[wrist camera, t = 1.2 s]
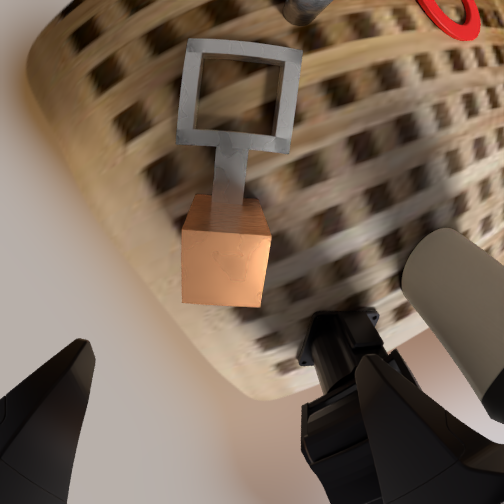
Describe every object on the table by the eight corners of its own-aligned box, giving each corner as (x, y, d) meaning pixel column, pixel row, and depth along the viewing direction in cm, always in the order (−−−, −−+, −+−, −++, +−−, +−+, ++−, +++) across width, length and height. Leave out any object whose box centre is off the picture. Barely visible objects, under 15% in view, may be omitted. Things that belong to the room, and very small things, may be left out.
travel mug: (383, 287, 22) (496, 464, 6) (433, 210, 19) (598, 351, 3) (429, 309, 24) (520, 441, 8) (472, 247, 21) (588, 361, 5)
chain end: (267, 255, 20) (282, 307, 14) (176, 249, 19) (159, 300, 14) (296, 56, 14) (328, 29, 8) (191, 45, 13) (174, 11, 8)
